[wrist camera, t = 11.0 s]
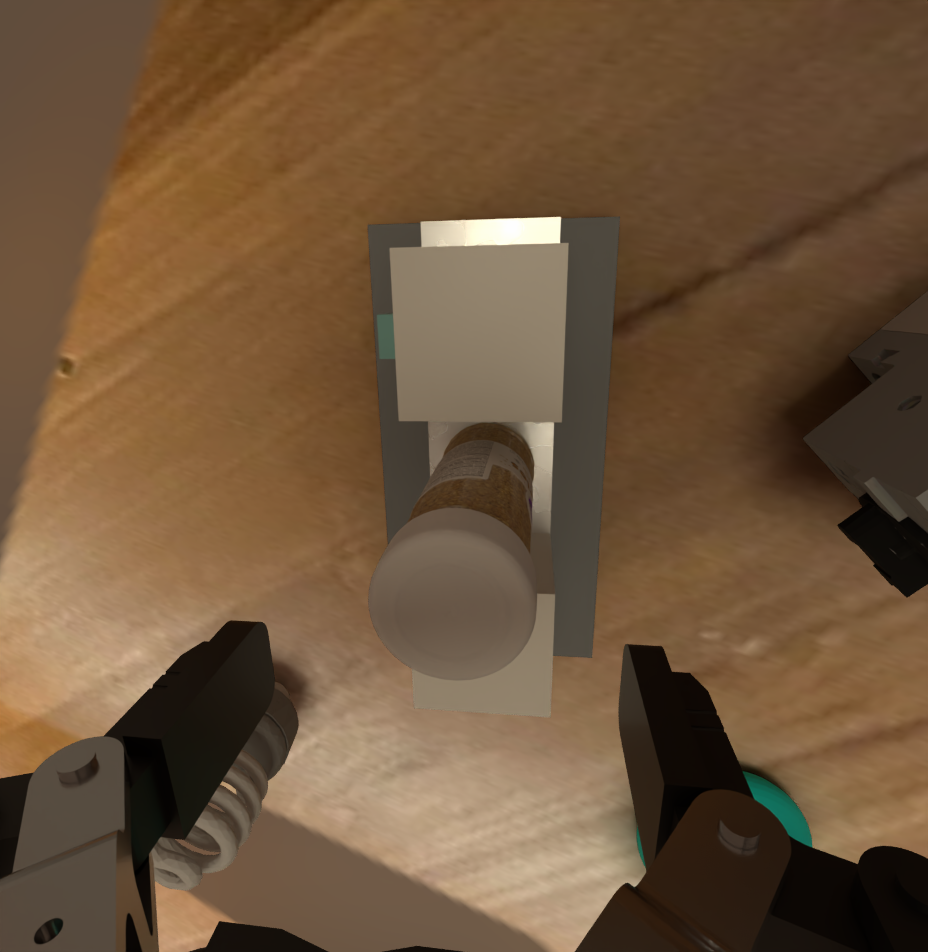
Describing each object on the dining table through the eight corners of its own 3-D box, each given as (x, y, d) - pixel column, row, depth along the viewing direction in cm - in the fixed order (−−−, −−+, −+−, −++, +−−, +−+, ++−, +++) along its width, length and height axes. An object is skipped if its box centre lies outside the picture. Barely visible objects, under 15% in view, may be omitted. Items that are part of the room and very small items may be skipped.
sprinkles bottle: (543, 498, 27) (555, 674, 15) (455, 517, 28) (393, 699, 16) (522, 409, 26) (513, 517, 13) (430, 431, 27) (340, 553, 14)
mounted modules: (404, 259, 25) (366, 248, 19) (559, 255, 24) (568, 242, 18) (421, 630, 31) (396, 706, 25) (546, 636, 30) (550, 717, 24)
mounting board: (379, 229, 27) (367, 224, 25) (613, 222, 26) (619, 216, 24) (402, 626, 34) (394, 646, 32) (588, 636, 32) (591, 657, 30)
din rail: (422, 223, 25) (420, 221, 24) (560, 218, 24) (560, 216, 23) (438, 649, 31) (436, 654, 31) (545, 655, 31) (545, 660, 30)
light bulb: (332, 715, 36) (241, 907, 25) (256, 729, 37) (137, 919, 26) (299, 642, 35) (186, 810, 23) (221, 659, 36) (78, 828, 25)
